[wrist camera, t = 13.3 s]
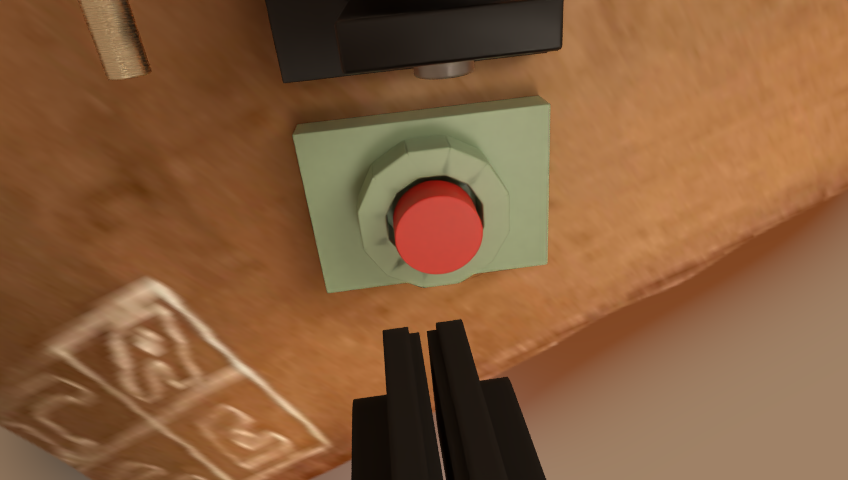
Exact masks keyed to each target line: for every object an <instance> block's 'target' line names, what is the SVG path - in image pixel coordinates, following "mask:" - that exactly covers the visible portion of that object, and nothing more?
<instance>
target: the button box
mask: <svg viewBox="0 0 848 480" xmlns="http://www.w3.org/2000/svg"><path fill="white" fill-rule="evenodd" d="M292 136H293V141H294V145H295V150H296V154H297V159H298V163H299V168H300V172H301V177H302V181H303V186H304V190H305V195H306V199H307V204H308V208H309V213H310V217H311V222H312V227H313V231H314V236H315V240H316V245H317V249H318V254H319V258H320V263H321V267H322V272H323V276H324V281H325V285H326V290H327V293H333V292H340V291H348V290H355V289H363V288H371V287H378V286H386V285H393V284H401V283H410V284H413V285H416V286H419V287H423V288H426V287H434V286H441V285H449V284H456V283H460V282H462V281H464V280H465V279H467V278H469V277H470V276H472V275H473V274H477V273H484V272H492V271H499V270H507V269H515V268H522V267H530V266H537V265H545V264H547V256H548V203H549V149H550V103H548V102H547V101H546V100H544V99H543V98H542V97H540V96H530V97H522V98H513V99H505V100H496V101H488V102H480V103H471V104H463V105H455V106H446V107H438V108H430V109H421V110H413V111H404V112H396V113H388V114H379V115H371V116H363V117H354V118H346V119H338V120H329V121H321V122H312V123H304V124H298V125H297V126H296V129H295V131H294V133H293V135H292ZM431 180H442V181H448V182H451V183H453V184H456V185H458V186H459V187H461V188H462V189H463V190H464V191H466V193H467V194H468V195H469V196H470V198H471V199H472V201H473V204H474V206H475V208H476V210H477V213H478V215H479V217H480V220H481V223H482V227H483V237H482V242H481V245H480V247H479V250H478V251H477V253H476V255H475V256H474V257H473V258H472V259H471V260H470V261H469V262H468V263H467V264H466V265H464V266H463V267H461V268H460V269H458V270H455V271H453V272H450V273H445V274H427V273H423V272H420V271H418V270H416V269H414V268H412V267H411V266H409V265H408V264H407V263H406V262H405V261H404V260H403V259H402V258H401V256H400V255H399V253H398V251H397V248H396V245H395V237H394V227H393V214H394V210H395V207H396V205H397V203H398V201H399V199H400V198H401V197H402V195H403V194H404V193H405V192H406V191H408V190H409V189H410V188H412V187H413V186H415V185H417V184H419V183H422V182H425V181H431Z"/></svg>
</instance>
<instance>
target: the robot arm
mask: <svg viewBox="0 0 848 480" xmlns="http://www.w3.org/2000/svg"><path fill="white" fill-rule="evenodd" d="M427 337H428V346H429V355H430V365H431V374H432V383H433V392H434V401H435V410H436V420H437V427H438V434H439V441H440V446H441V452H442V458H443V464H444V470H445V476H446V480H546V478H545V475H544V473H543V470H542V467H541V464H540V461H539V459H538V456H537V453H536V450H535V448H534V445H533V442H532V439H531V437H530V434H529V431H528V428H527V425H526V423H525V420H524V417H523V414H522V412H521V409H520V407H519V403H518V401H517V398H516V395H515V393H514V390H513V387H512V384H511V382H510V380H509V378H508V377H503V378H496V379H489V380H482V381H479V377H478V374H477V370H476V367H475V363H474V360H473V356H472V353H471V350H470V346H469V343H468V339H467V336H466V332H465V329H464V325H463V322H462V320H461V319H460V320H453V321H446V322H438V323H436V330H431V331H427ZM383 345H384V361H385V376H386V391H387V395H381V396H374V397H367V398H361V399H354V400H353V407H352V476H351V477H352V478H351V480H443V476H442V469H441V463H440V457H439V452H438V445H437V439H436V433H435V427H434V421H433V414H432V408H431V402H430V396H429V390H428V384H427V378H426V372H425V366H424V359H423V353H422V347H421V341H420V335H419V332H417V333H410V334H409V331H408V327H403V328H396V329H389V330H383Z"/></svg>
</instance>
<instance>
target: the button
mask: <svg viewBox="0 0 848 480" xmlns="http://www.w3.org/2000/svg"><path fill="white" fill-rule="evenodd" d="M393 227H394V237H395V245H396V248H397V251H398V253H399V255H400V256H401V258H402V259H403V260H404V261H405V262H406V263H407V264H408V265H409V266H411V267H412V268H414V269H416V270H418V271H420V272H423V273H427V274H445V273H450V272H453V271H455V270H458V269H460V268H461V267H463V266H464V265H466V264H467V263H468V262H469V261H470V260H471V259H472V258H473V257H474V256H475V255H476V253H477V251H478V250H479V247H480V245H481V242H482V237H483V227H482V223H481V220H480V217H479V215H478V213H477V210H476V208H475V206H474V204H473V201H472V199H471V198H470V196H469V195H468V194H467V193H466V191H464V190H463V189H462V188H461V187H459V186H458V185H456V184H453V183H451V182H448V181H442V180H431V181H425V182H422V183H419V184H417V185H415V186H413V187H412V188H410V189H409V190H408V191H406V192H405V193H404V194H403V195H402V197H401V198H400V199H399V201H398V203H397V205H396V207H395V210H394V214H393Z"/></svg>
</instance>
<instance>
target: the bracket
mask: <svg viewBox="0 0 848 480" xmlns="http://www.w3.org/2000/svg"><path fill="white" fill-rule="evenodd" d="M563 1H564V0H265V2H266V7H267V11H268V16H269V21H270V25H271V30H272V34H273V39H274V43H275V48H276V53H277V57H278V62H279V66H280V71H281V75H282V80H283V83H291V82H300V81H308V80H317V79H326V78H334V77H343V76H351V75H360V74H368V73H377V72H386V71H394V70H403V69H411V68H413V69H414V75H415V76H416V77H418V78H422V79H447V78H454V77H459V76H463V75H467V74H469V73H471V72H473V71H474V61H480V60H489V59H497V58H506V57H514V56H523V55H531V54H540V53H547V52H549V51H558V50H559V49H561V47H562V37H563Z"/></svg>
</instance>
